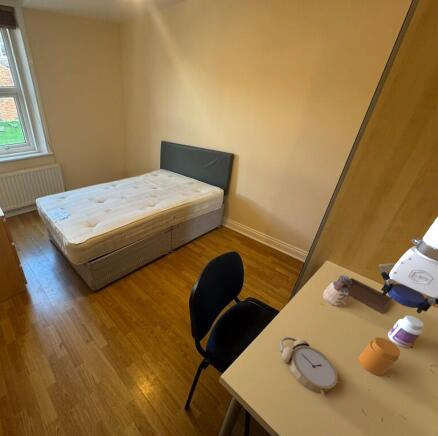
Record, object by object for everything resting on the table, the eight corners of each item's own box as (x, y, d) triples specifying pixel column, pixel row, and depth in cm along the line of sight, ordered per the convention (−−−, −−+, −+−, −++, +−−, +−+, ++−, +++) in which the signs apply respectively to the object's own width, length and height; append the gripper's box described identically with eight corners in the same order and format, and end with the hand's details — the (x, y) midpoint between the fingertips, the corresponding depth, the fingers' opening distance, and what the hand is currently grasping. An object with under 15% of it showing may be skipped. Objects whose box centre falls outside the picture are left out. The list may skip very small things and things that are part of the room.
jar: (387, 367, 68) (405, 349, 63) (380, 380, 65) (398, 361, 60) (362, 351, 72) (377, 332, 68) (354, 362, 69) (369, 343, 65)
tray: (390, 302, 88) (393, 298, 87) (381, 313, 84) (384, 309, 83) (349, 281, 98) (351, 277, 97) (340, 290, 93) (342, 286, 92)
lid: (384, 296, 65) (388, 290, 64) (391, 285, 68) (395, 280, 67) (417, 312, 60) (422, 306, 59) (423, 300, 64) (428, 295, 63)
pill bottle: (414, 348, 73) (433, 329, 68) (397, 348, 73) (414, 328, 68) (398, 332, 78) (415, 313, 73) (382, 332, 78) (397, 313, 73)
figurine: (349, 304, 88) (363, 281, 82) (336, 309, 86) (349, 286, 80) (330, 290, 93) (343, 268, 87) (318, 295, 91) (329, 272, 85)
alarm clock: (322, 398, 59) (275, 342, 69) (312, 403, 62) (268, 349, 72) (347, 376, 63) (299, 327, 73) (337, 382, 66) (292, 334, 76)
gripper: (388, 239, 61) (358, 288, 70) (497, 278, 48) (443, 331, 57) (397, 230, 64) (367, 278, 73) (500, 265, 52) (449, 316, 61)
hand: (401, 301), depth 65 cm, fingers closed on lid, 6 cm apart
